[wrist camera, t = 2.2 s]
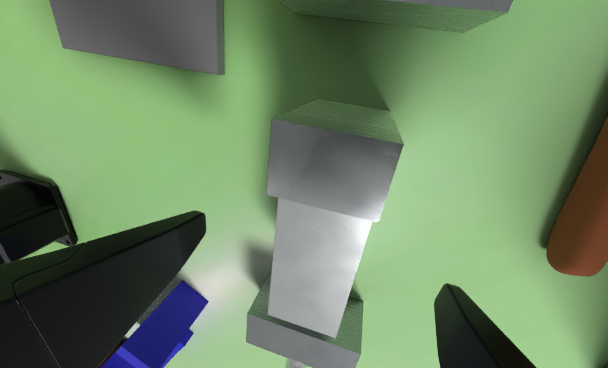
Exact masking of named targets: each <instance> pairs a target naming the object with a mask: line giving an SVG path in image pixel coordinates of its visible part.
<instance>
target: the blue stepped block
mask: <svg viewBox="0 0 608 368" xmlns="http://www.w3.org/2000/svg"><path fill="white" fill-rule="evenodd" d="M207 303H208V301H207V300H206V299H205V298H204V297H202V296H201V295H200V294H199V293H197V292H196V291H195V290H194V289H193V288H191V287H190V286H189V285H188V284H186V283H185V282H184V281H182V282H181V283H180V284H179V285H178V286H177V287H176V288H175V289H174V290H173V291H172V292H171V293H170V294H169V296H168V297H167V298H166V299H165V300H164V301H163V302H162V303H161V304H160V305H159V306H158V307H157V308H156V309H155V310H154V312H153V313H152V314H151V315H150V316H149V317H148V318H147V319H146V320H145V321H144V322H143V323H142V324H141V325H140V326H139V328H138V329H137V330H136V331H135V332H134V333H133V334H132V335H131V336H130V337H129V338H128V339H127V340H126V341H125V343H124V344H123V345H122V346H121V347H120V348H119V349H118V350H117V351H116V352H115V353H114V354H113V355H112V356H111V358H110V359H109V360H108V361H107V362H106V363H105V364H104V365H103V366H102V367H101V368H164V366H165V365H166V364H167V363H168V362H169V361H170V360H171V359H172V358H173V357H174V355H175V354H176V353H177V352H178V351H180V350H181V349H182V348H183V347H184V346H185V345H186V343H187V342H188V341H189V339H190V338H191V336H192V335H193V332H192V331H190V330H189V328H190V326H191V325H192V324H193V322H194V321H195V320H196V318H197V317H198V316H199V314H200V313H201V311H202V310H203V309H204V307H205V306H206V305H207Z"/></svg>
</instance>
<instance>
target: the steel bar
mask: <svg viewBox="0 0 608 368" xmlns="http://www.w3.org/2000/svg"><path fill="white" fill-rule="evenodd" d="M403 145H404V144H403V141H402V139H401V136H400V134H399V132H398V129H397V127H396V124H395V122H394V120H393V117H392V115H391V112H390V111H387V110H381V109H375V108H369V107H363V106H357V105H351V104H345V103H339V102H334V101H328V100H322V99H317V100H314V101H312V102H310V103H307V104H305V105H303V106H300V107H298V108H296V109H293V110H291V111H289V112H286V113H284V114H282V115H280V116H277V117H275V118H273V119H272V121H271V136H270V152H269V167H268V183H267V195H269V196H273V197H277V198H278V206H277V217H276V229H275V240H274V251H273V262H272V273H271V284H270V295H269V306H268V315H270V316H273V317H276V318H279V319H282V320H285V321H288V322H290V323H293V324H296V325H299V326H302V327H305V328H308V329H310V330H313V331H316V332H319V333H322V334H325V335H328V336H330V337H333V338H336V336H337V333H338V329H339V326H340V323H341V320H342V316H343V313H344V310H345V307H346V304H347V300H348V297H349V294H350V291H351V287H352V284H353V281H354V278H355V275H356V271H357V268H358V265H359V262H360V258H361V255H362V252H363V249H364V246H365V242H366V239H367V236H368V233H369V229H370V226H371V223H372V222H376V223H378V221H379V218H380V215H381V212H382V209H383V206H384V203H385V200H386V197H387V194H388V191H389V188H390V185H391V182H392V178H393V175H394V172H395V169H396V166H397V163H398V160H399V157H400V154H401V151H402V148H403Z"/></svg>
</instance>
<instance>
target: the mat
mask: <svg viewBox="0 0 608 368" xmlns="http://www.w3.org/2000/svg"><path fill="white" fill-rule="evenodd" d="M50 4H51V7H52V11H53V14H54V18H55V21H56V25H57V29H58V32H59V36H60V39H61V43H62V46H63V48H66V49H72V50H78V51H83V52H89V53H95V54H101V55H107V56H112V57H118V58H124V59H130V60H136V61H141V62H147V63H153V64H159V65H165V66H170V67H176V68H182V69H188V70H193V71H199V72H205V73H211V74H217V75H224V3H223V0H50Z"/></svg>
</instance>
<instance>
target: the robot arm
mask: <svg viewBox="0 0 608 368" xmlns="http://www.w3.org/2000/svg"><path fill="white" fill-rule="evenodd" d="M205 233H206V217H205V214H204V213H202V212H199V211H191V212H187V213H184V214H180V215H177V216H174V217H170V218H167V219H163V220H160V221H156V222H153V223H150V224H146V225H143V226H139V227H136V228H132V229H129V230H126V231H122V232H119V233H115V234H112V235H108V236H105V237H102V238H98V239H95V240H91V241H88V242H86V243H81V244H77V240H76V238H75V235H74V232H73V230H72V227H71V224H70V222H69V219H68V216H67V214H66V211H65V209H64V206H63V203H62V201H61V198H60V195H59V193H58V190H57V189H56V187H55V186H53V185H52V184H48V183H45V182H42V181H39V180H35V179H32V178H29V177H25V176H22V175H19V174H16V173H12V172H9V171H6V170H0V368H98V367H99V365H100V364H101V363H102V362H103V361H104V359H105V358H106V357H107V356H108V355H109V354H110V352H111V351H112V350H113V349H114V348H115V346H116V345H117V344H118V343H119V342H120V341H121V339H122V338H123V337H124V336H125V335H126V333H127V332H128V331H129V330H130V329H131V328H132V326H133V325H134V324H135V323H136V322H137V320H138V319H139V318H140V317H141V316H142V315H143V313H144V312H145V311H146V310H147V309H148V307H149V306H150V305H151V304H152V303H153V301H154V300H155V299H156V298H157V297H158V296H159V294H160V293H161V292H162V291H163V290H164V288H165V287H166V286H167V285H168V284H169V283H170V281H171V280H172V279H173V278H174V277H175V275H176V274H177V273H178V272H179V271H180V269H181V268H182V267H183V266H184V264H185V263H186V261H187V260H188V259H189V257H190V256H191V254H192V253H193V251H194V250H195V248H196V247H197V245H198V244H199V243H200V241H201V240H202V238H203V237H204V235H205ZM53 242H58V243H61V244H64V245H66V246H69V247H67V248H63V249H60V250H56V251H53V252H49V253H45V254H41V255H37V256H33V257H29V258H25V259H22V258H24V257H26V256H28V255H30V254H32V253H34V252H36V251H38V250H39V249H41V248H43V247H45V246H47V245H49V244H51V243H53ZM76 244H77V245H76ZM20 259H22V260H20ZM434 311H435V324H436V337H437V349H438V357H439V363H440V368H536V367H535V366H534V365H533V363H532V362H531V361H530V360H529V359H528V358H527V357H526V356H525V355H524V354H523V353H522V352H521V351H520V350H519V349H518V348H517V347H516V346H515V345H514V344H513V342H512V341H511V340H510V339H509V338H508V337H507V336H506V335H505V334H504V333H503V332H502V331H501V330H500V329H499V328H498V327H497V326H496V325H495V324H494V323H493V321H492V320H491V319H490V318H489V317H488V316H487V315H486V314H485V313H484V312H483V311H482V310H481V309H480V308H479V307H478V306H477V305H476V304H475V303H474V302H473V300H472V299H471V298H470V297H469V296H468V295H467V294H466V293H465V292H464V291H463V290H462V289H461V288H460V287H458V286H455V285H452V284H448V283H446V284H444V285H443V287H442V288H441V290H440V292H439V294H438V295H437V297H436V299H435V302H434Z"/></svg>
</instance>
